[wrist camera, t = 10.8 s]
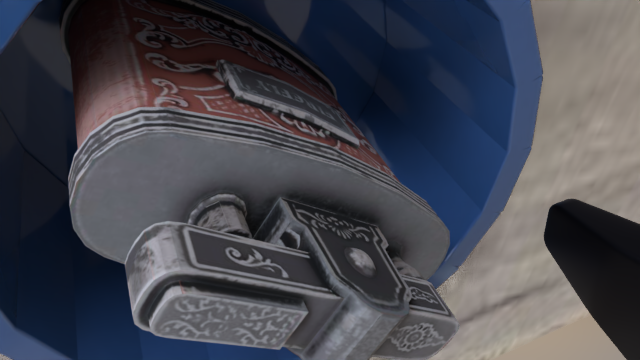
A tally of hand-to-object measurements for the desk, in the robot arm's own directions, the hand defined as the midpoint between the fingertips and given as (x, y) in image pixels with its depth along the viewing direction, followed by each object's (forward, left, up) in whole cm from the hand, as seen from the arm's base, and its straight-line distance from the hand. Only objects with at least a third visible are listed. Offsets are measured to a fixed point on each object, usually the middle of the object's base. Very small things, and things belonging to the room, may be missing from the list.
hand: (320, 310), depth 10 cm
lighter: (0, 0, -9) cm, 9 cm away
